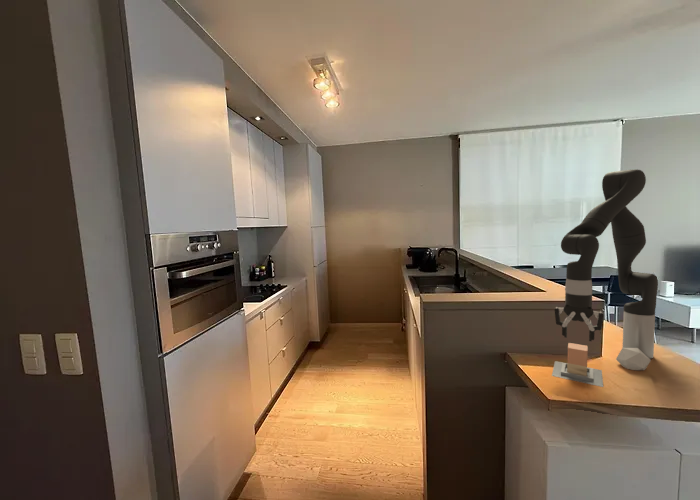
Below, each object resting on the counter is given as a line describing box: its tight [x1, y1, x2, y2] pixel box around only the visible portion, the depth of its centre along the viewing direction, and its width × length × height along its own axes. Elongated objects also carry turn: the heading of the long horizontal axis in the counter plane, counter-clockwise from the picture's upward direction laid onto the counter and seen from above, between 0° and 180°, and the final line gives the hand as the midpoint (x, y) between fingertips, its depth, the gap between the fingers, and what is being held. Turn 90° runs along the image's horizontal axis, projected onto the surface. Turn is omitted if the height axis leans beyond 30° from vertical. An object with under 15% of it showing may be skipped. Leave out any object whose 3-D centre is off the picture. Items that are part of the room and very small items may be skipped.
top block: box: [567, 342, 589, 367], centre depth 110 cm, size 6×6×6 cm
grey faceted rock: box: [615, 347, 652, 371], centre depth 113 cm, size 8×9×10 cm
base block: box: [566, 361, 588, 376], centre depth 110 cm, size 6×6×4 cm
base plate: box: [551, 360, 604, 388], centre depth 110 cm, size 14×14×2 cm
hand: (577, 338), depth 109 cm, fingers open, 6 cm apart
